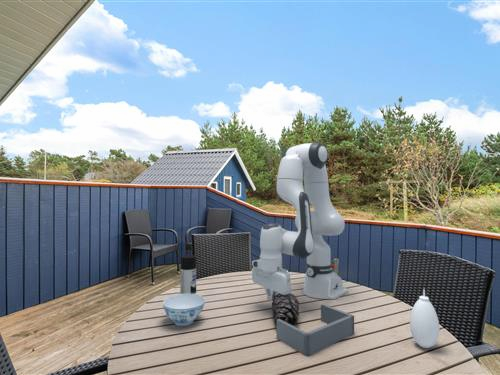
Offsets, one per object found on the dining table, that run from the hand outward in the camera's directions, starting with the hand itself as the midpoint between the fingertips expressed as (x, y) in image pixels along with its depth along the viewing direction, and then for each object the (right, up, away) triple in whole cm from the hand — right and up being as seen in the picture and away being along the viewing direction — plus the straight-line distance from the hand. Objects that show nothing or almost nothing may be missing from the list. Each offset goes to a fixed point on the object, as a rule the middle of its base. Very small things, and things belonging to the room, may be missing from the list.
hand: (270, 299), depth 115 cm
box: (+13, -5, -18) cm, 23 cm away
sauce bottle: (+46, -5, -25) cm, 53 cm away
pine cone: (+5, -5, -9) cm, 11 cm away
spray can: (-35, -5, +10) cm, 36 cm away
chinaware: (-32, -5, -9) cm, 34 cm away
